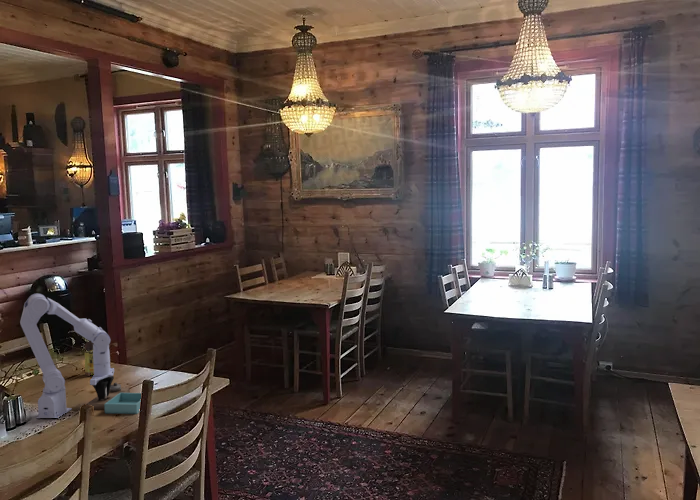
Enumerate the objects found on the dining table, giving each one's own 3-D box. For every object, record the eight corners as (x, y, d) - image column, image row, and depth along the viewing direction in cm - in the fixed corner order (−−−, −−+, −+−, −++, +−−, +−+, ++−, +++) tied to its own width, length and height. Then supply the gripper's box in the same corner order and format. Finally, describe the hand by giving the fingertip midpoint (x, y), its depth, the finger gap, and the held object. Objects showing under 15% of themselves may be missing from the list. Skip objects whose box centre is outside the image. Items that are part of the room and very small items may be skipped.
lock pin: (105, 405, 214) (104, 387, 214) (99, 405, 215) (98, 387, 214) (108, 403, 217) (107, 385, 216) (102, 402, 217) (101, 385, 216)
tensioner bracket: (107, 409, 210) (106, 396, 210) (86, 408, 211) (86, 395, 211) (129, 392, 228) (129, 380, 228) (110, 392, 229) (109, 380, 228)
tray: (136, 413, 206) (136, 404, 205) (104, 413, 206) (104, 404, 206) (150, 401, 217) (150, 393, 217) (120, 401, 218) (120, 392, 218)
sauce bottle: (90, 377, 248) (88, 332, 246) (82, 375, 251) (79, 331, 249) (104, 373, 253) (101, 329, 251) (95, 371, 256) (93, 328, 255)
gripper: (102, 368, 207) (104, 404, 208) (121, 357, 221) (122, 391, 222) (83, 368, 207) (85, 404, 208) (103, 356, 222) (105, 390, 223)
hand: (103, 397), depth 215 cm, fingers closed on lock pin, 2 cm apart
